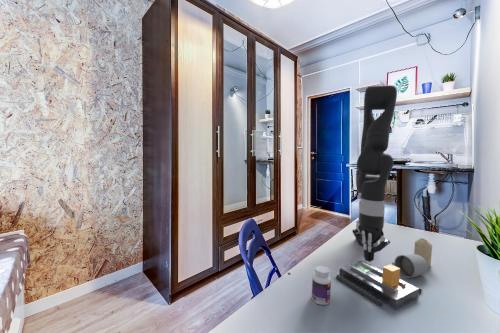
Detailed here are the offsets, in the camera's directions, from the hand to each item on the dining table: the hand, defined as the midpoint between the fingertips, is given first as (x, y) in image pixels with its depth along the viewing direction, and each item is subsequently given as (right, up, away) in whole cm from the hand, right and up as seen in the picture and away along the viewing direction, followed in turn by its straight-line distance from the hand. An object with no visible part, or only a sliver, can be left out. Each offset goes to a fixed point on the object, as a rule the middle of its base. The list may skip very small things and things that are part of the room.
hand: (368, 260), depth 80 cm
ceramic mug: (+17, -7, +6) cm, 20 cm away
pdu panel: (+1, -8, -2) cm, 8 cm away
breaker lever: (+4, -5, -7) cm, 9 cm away
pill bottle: (-20, -8, -10) cm, 23 cm away
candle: (+28, -7, +13) cm, 32 cm away
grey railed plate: (+1, -8, -2) cm, 8 cm away
